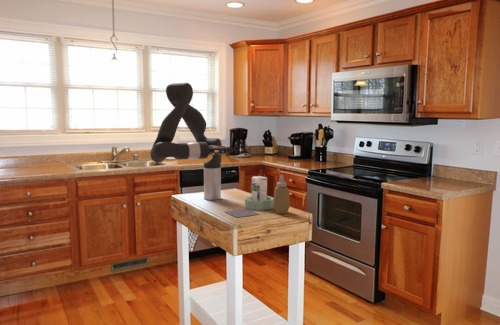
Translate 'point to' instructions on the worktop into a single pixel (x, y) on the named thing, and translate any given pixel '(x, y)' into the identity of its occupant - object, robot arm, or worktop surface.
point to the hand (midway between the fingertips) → (228, 149)
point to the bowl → (259, 203)
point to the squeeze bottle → (281, 197)
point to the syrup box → (259, 188)
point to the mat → (241, 213)
